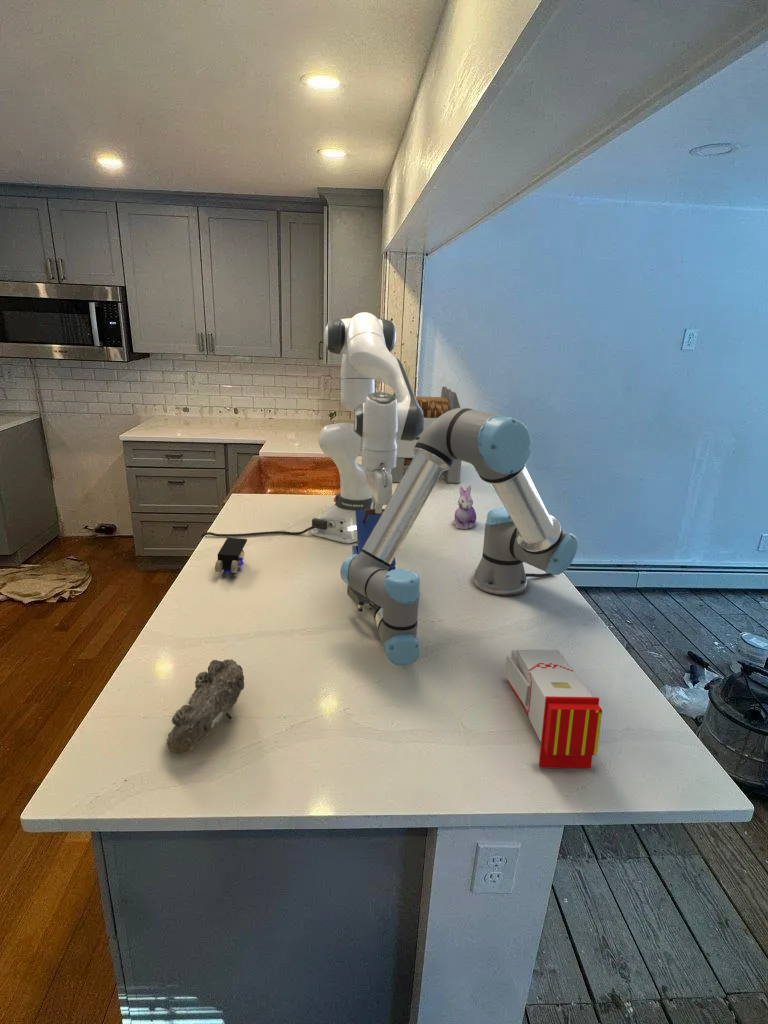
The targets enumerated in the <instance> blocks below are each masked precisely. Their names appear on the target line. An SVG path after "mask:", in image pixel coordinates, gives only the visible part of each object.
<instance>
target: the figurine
mask: <svg viewBox="0 0 768 1024" xmlns="http://www.w3.org/2000/svg"><path fill="white" fill-rule="evenodd" d="M471 493H472V485H468V486H467V487H466V489H464V487H463V486H461V485H460V486H459V498H458V500H457V505H458V507H457V509H456V510H455V512H454V520H453V525H454V526H455V527H456V528H457V529H461V530H468V529H472V528H473V527H475V525H476V521H477V513H476V510H475V508H474V507H473V504H474V500H473V498H472V496H471Z"/></svg>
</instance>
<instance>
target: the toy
mask: <svg viewBox="0 0 768 1024" xmlns="http://www.w3.org/2000/svg"><path fill="white" fill-rule="evenodd" d="M505 659H506V660H505V667H504V676H505V677H506V679H507V682H508V684H509V686H510V688H511V689H512V691H513V693H514V694H515V696H516V698H517V700H518V701H519V703H520V705H521V707H522V708H523V710H524V712H525V714H526V715H527V716H528V719H529V722H530V724H531V725H532V727H533V730H534V731H535V733H536V736H537V738H538V740H539V742H540V750H539V757H538V767H539V768H541V769H543V768H546V769H547V768H548V769H551V768H552V769H591V768H592V762H593V756H597V755H598V749H599V740H600V733H601V732H600V731H601V724H602V714H603V709H602V707H601V705H599V703H600V698H599V697H598V696H593V695H592V694H591V692H590V691H589V689H587V687H586V686H585V684H584V683H583V682H582V680H581V679H580V678H579V676H578V675H577V673H576V672H575V671H574V670H573V668H572V667H571V666H570V664H569V663H568V661H567V660H566V658H565V657H564V655H562V653H561V652H560V651H559V650H558V649H521V648H520V649H519V648H517V649H512V650H511V655H506V658H505Z"/></svg>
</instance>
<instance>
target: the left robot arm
mask: <svg viewBox="0 0 768 1024" xmlns="http://www.w3.org/2000/svg"><path fill="white" fill-rule="evenodd" d="M323 340H324V343H325V346H326V349H327V351H328V352H329V353H331V354H335V355H342V358H341V363H340V364H341V365H340V403H341V405H342V407H343V408H345V409H346V410H348V411H349V412H352V413H353V415H354V420H353V421H354V422H337V423H331V424H327V425H324V426H323V427H322V429H321V430H320V432H319V435H318V444H319V447H320V450H321V451H322V452H323V454H325V455H326V456H327V457H329V458H330V459H331V460H332V462H333V463H334V464H335V466H336V467H337V470H338V474H339V483H340V484H339V485H340V488H339V489H340V490H339V491H338V492H337V494H336V495H335V496H334V497H333V502H334V504H333V505H331V506H329V507H328V508H326V509H325V510H323V512H321V514H320V515H319V517H318V518H316V517H314V518H312V519H311V526H309V527H308V528H305V529H304V530H302V531H286V530H285V531H284V530H273V531H259V532H247V533H216V532H211V531H207V532H204V533H203V534H201V535H200V538H204V537H205V536H214V537H223V538H225V537H226V538H236V537H250V536H251V537H252V536H263V535H277V534H281V535H282V534H284V535H293V536H298V535H304V534H305V533H307V532H309V531H310V533H311V536H315V537H319V538H323V539H326V540H330V541H336V542H339V543H343V544H352V543H358V540H357V527H356V515H355V511H357V510H365V509H374V510H375V513H382V509H383V506H387V504H388V502H389V500H390V498H391V497H392V495H393V482H392V476H391V474H390V473H391V469H393V468H395V467H396V463H397V443H396V442H397V439H400V440H406V441H413V440H414V439H416V438H417V437H418V436H419V435H420V434H421V433H422V432H423V429H424V415H423V412H422V409H421V407H420V406H419V404H418V402H417V400H416V398H415V397H416V396H415V393H414V390H413V388H412V386H411V383H410V380H409V378H408V374H407V372H406V370H405V368H404V365H403V363H402V361H401V360H400V359H399V358H397V357H395V356H394V355H393V354H392V353H391V352H392V351H393V350H394V347H395V346H396V345H395V344H396V342H397V330H396V327H395V325H394V323H393V321H392V320H389V319H386V318H380V319H379V318H378V317H377V316H376V315H374V314H373V313H371V312H367V311H365V312H358V313H356V314H355V315H353V316H352V317H348V318H340V317H337V318H332V319H330V320H329V321H328V322H327V323H326V326H325V328H324V331H323ZM375 381H378V382H381V383H383V384H385V385H387V386H389V387H390V388H391V389H392V391H393V394H394V393H395V396H396V397H395V396H393V394H391V393H388V392H383V391H375V387H376V386H375V384H376V383H375ZM397 401H398V403H397ZM358 457H361V464H360V463H359V462H357V458H358Z"/></svg>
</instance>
